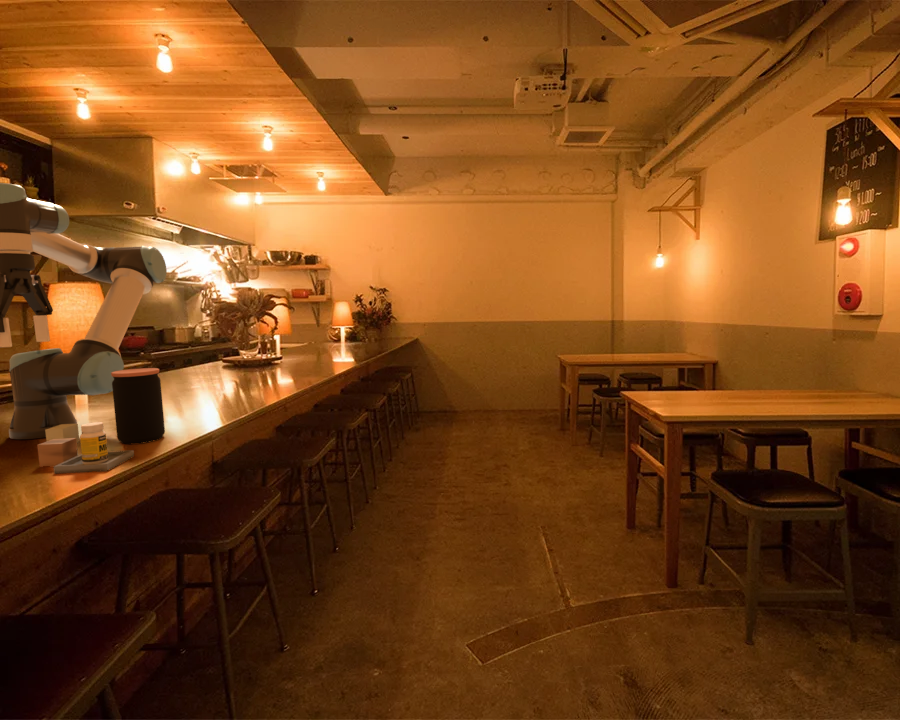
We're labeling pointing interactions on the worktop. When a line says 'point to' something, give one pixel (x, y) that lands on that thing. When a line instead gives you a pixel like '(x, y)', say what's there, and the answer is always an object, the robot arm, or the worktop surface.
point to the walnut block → (57, 451)
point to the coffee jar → (138, 405)
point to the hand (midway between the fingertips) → (25, 344)
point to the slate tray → (77, 465)
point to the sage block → (63, 432)
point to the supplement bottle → (93, 443)
